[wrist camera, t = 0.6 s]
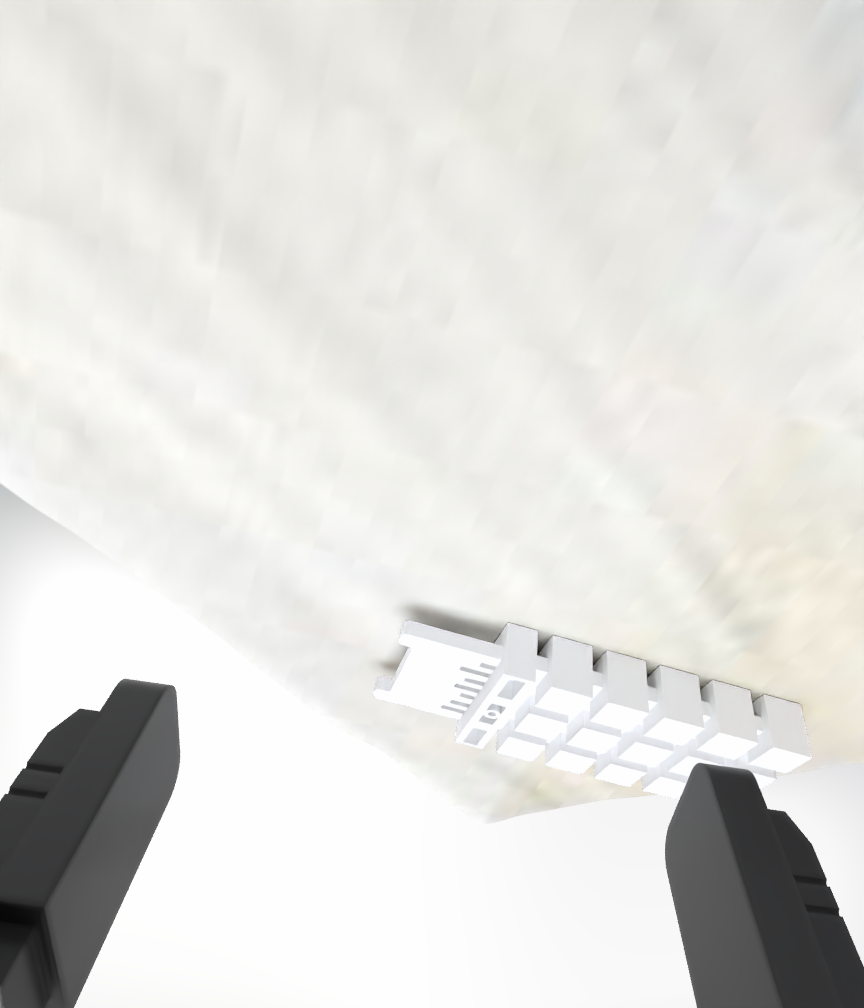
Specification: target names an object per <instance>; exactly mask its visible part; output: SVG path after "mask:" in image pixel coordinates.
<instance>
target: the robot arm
mask: <svg viewBox="0 0 864 1008" xmlns="http://www.w3.org/2000/svg"><path fill="white" fill-rule="evenodd" d="M179 763H180V745H179V728H178V711H177V697H176V690H175V687H174V686H172V685H165V684H158V683H150V682H143V681H137V680H129V679H123V680H122V681H120V682H119V683H118V685H117V686H116V687H115V689H114V690H113V692H112V693H111V695H110V697H109V698H108V700H107V701H106V703H105V705H104V706H103V707H102V709H101V711H100V712H98V711H92V710H85V709H79V710H78V711H76V712H75V713H74V714H72V715H71V716H70V717H68V718H67V719H66V720H64V721H63V722H62V723H60V724H59V725H58V726H56V727H55V728H54V729H52V730H51V731H50V732H48V733H47V735H46V736H45V738H44V739H43V741H42V742H41V743H40V745H39V746H38V748H37V749H36V751H35V752H34V754H33V755H32V756H31V758H30V759H29V761H28V762H27V767H26V768H25V769H22V771H21V772H20V774H19V775H18V776H17V778H16V779H15V781H14V782H13V784H12V785H11V786H10V791H9V793H8V794H5V795H4V797H3V798H2V799H1V801H0V1008H74V1006H75V1004H76V1001H77V1000H78V997H79V995H80V993H81V991H82V989H83V986H84V984H85V982H86V980H87V978H88V976H89V973H90V971H91V969H92V967H93V965H94V962H95V960H96V958H97V956H98V954H99V952H100V950H101V947H102V945H103V943H104V941H105V939H106V937H107V934H108V932H109V930H110V928H111V926H112V924H113V921H114V919H115V917H116V915H117V913H118V910H119V908H120V906H121V904H122V902H123V900H124V897H125V895H126V893H127V891H128V889H129V886H130V884H131V882H132V880H133V878H134V875H135V873H136V871H137V869H138V867H139V865H140V862H141V860H142V858H143V856H144V854H145V852H146V850H147V847H148V845H149V843H150V841H151V838H152V837H153V834H154V832H155V830H156V828H157V826H158V823H159V821H160V819H161V817H162V815H163V812H164V811H165V808H166V806H167V804H168V802H169V800H170V797H171V795H172V792H173V790H174V786H175V783H176V779H177V775H178V770H179ZM665 860H666V869H667V873H668V878H669V883H670V887H671V892H672V896H673V901H674V905H675V910H676V914H677V919H678V923H679V928H680V932H681V937H682V941H683V946H684V950H685V955H686V959H687V964H688V968H689V973H690V977H691V981H692V986H693V990H694V995H695V999H696V1004H697V1008H864V967H863V964H862V962H861V960H860V957H859V955H858V953H857V950H856V948H855V945H854V943H853V941H852V938H851V936H850V934H849V931H848V929H847V926H846V924H845V922H844V919H843V917H840V916H839V908H838V905H837V903H836V901H835V898H834V896H833V893H832V891H831V889H830V887H827V885H826V877H825V875H824V872H823V870H822V867H821V865H820V863H819V861H818V858H817V856H816V853H815V851H814V849H813V846H812V844H811V843H810V842H809V841H808V839H807V838H806V837H805V835H804V834H803V833H802V832H801V831H800V829H799V828H798V827H797V826H796V825H795V823H794V822H793V821H792V820H791V818H790V817H789V816H788V815H787V814H786V812H784V811H777V810H770V809H767V806H766V804H765V801H764V798H763V796H762V793H761V791H760V788H759V785H758V783H757V780H756V778H755V776H754V775H753V773H752V772H751V771H749V770H747V769H740V768H733V767H726V766H719V765H712V764H705V763H697V764H696V765H695V766H694V767H693V769H692V771H691V773H690V776H689V778H688V781H687V783H686V785H685V788H684V790H683V793H682V795H681V798H680V800H679V803H678V805H677V807H676V810H675V812H674V815H673V817H672V820H671V822H670V825H669V827H668V831H667V836H666V844H665Z"/></svg>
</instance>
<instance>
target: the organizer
mask: <svg viewBox="0 0 864 1008" xmlns="http://www.w3.org/2000/svg"><path fill="white" fill-rule="evenodd" d="M399 643H400V644H401V645H403V646H407V647H408V649H407V651H406V653H405V655H404V657H403V659H402V661H401V663H400V665H399V667H398V669H397V671H396V673H395V675H394V677H393V679H392V678H388V677H384V676H380V677H378V678H377V679H376V682H375V687H374V691H373V696H374V697H375V698H378V699H381V700H385V701H389V702H393V703H397V704H400V705H404V706H408V707H412V708H416V709H420V710H423V711H427V712H431V713H435V714H439V715H442V716H446V717H450V718H454V719H457V725H456V733H455V741H454V742H457V743H461V744H465V745H469V746H473V747H476V748H480V749H482V748H483V747H484V746H485V745H486V743H487V742H488V741H489V740H490V738H491V737H492V736H493V735H494V733H495V732H496V731H497V742H496V753H500V754H503V755H507V756H511V757H515V758H519V759H523V760H527V761H531V762H532V761H533V760H534V759H535V758H536V757H537V756H538V755H539V754H540V753H541V752H542V751H543V750H544V749H545V748H546V757H545V765H546V766H550V767H554V768H558V769H561V770H565V771H569V772H573V773H577V774H582V773H583V772H584V771H585V770H586V769H588V768H589V767H590V766H591V765H592V764H593V763H594V778H596V779H600V780H604V781H608V782H612V783H616V784H619V785H623V786H627V787H630V786H631V785H632V784H634V783H635V782H636V781H637V780H639V779H640V778H641V780H642V790H643V791H646V792H650V793H654V794H658V795H662V796H666V797H670V798H673V799H677V798H679V797H681V795H682V793H683V790H684V788H685V785H686V783H687V781H688V778H689V776H690V773H691V771H692V769H693V767H694V766H695V765H696V764H697V763H705V764H712V765H719V766H726V767H733V768H740V769H747V770H749V771H751V772H752V773H753V775H754V776H755V778H756V780H757V783H758V785H759V788H760V789H761V788H763V787H765V786H766V785H768V784H770V783H771V782H773V781H775V780H776V779H777V778H776V773H775V771H778V772H782V773H788V772H790V771H791V770H793V769H795V768H796V767H798V766H800V765H801V764H803V763H805V762H806V761H808V760H810V759H811V758H812V754H811V749H810V745H809V740H808V736H807V731H806V726H805V722H804V717H803V713H802V708H801V704H797V703H794V702H790V701H787V700H783V699H780V698H776V697H772V696H769V695H765V694H763V695H762V696H761V697H759V698H758V699H757V700H755V701H754V702H753V703H752V699H751V694H750V690H747V689H744V688H740V687H737V686H733V685H729V684H726V683H722V682H719V681H715V680H712V681H710V682H709V683H708V684H707V685H706V686H704V687H703V688H702V689H701V690H700V686H699V677H698V676H697V675H694V674H690V673H687V672H683V671H679V670H676V669H672V668H669V667H665V666H662V665H660V666H659V667H658V668H657V669H656V670H655V671H654V672H653V673H652V674H650V675H649V676H648V677H647V671H646V661H644V660H640V659H637V658H633V657H629V656H626V655H622V654H619V653H615V652H612V651H608V650H607V651H606V652H605V653H604V654H603V655H602V656H601V658H600V659H599V660H598V661H597V662H596V663H595V664H594V665H593V655H592V646H590V645H587V644H583V643H579V642H576V641H572V640H569V639H565V638H562V637H558V636H554V635H553V636H552V637H551V638H550V640H549V641H548V642H547V644H546V645H545V646H544V647H543V649H542V650H541V651H540V653H539V654H538V655H537V644H538V631H537V630H533V629H529V628H526V627H522V626H519V625H515V624H512V623H507V625H506V626H505V628H504V629H503V631H502V632H501V634H500V635H499V637H498V638H497V640H496V641H495V643H490V642H486V641H483V640H479V639H476V638H472V637H468V636H465V635H461V634H457V633H454V632H450V631H447V630H443V629H439V628H436V627H432V626H428V625H425V624H421V623H418V622H414V621H405V622H403V624H402V626H401V631H400V636H399Z"/></svg>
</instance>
